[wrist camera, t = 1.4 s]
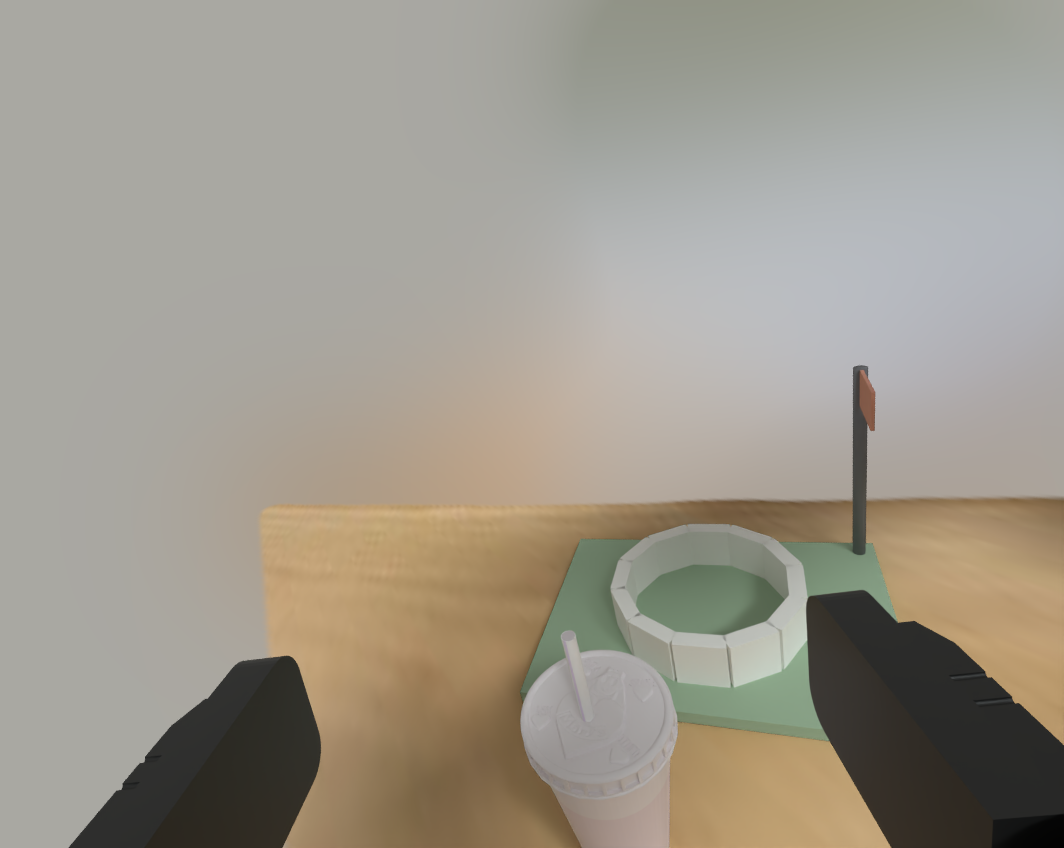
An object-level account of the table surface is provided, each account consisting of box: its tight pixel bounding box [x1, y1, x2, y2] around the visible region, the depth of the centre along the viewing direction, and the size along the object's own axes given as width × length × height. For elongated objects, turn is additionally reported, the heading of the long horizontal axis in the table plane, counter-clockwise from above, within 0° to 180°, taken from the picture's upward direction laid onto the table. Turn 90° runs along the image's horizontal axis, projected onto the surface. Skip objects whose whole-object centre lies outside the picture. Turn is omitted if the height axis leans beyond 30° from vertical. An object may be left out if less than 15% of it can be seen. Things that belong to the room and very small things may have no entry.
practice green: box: [520, 366, 897, 741], centre depth 36 cm, size 22×16×15 cm
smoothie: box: [520, 630, 678, 848], centre depth 24 cm, size 6×6×14 cm
